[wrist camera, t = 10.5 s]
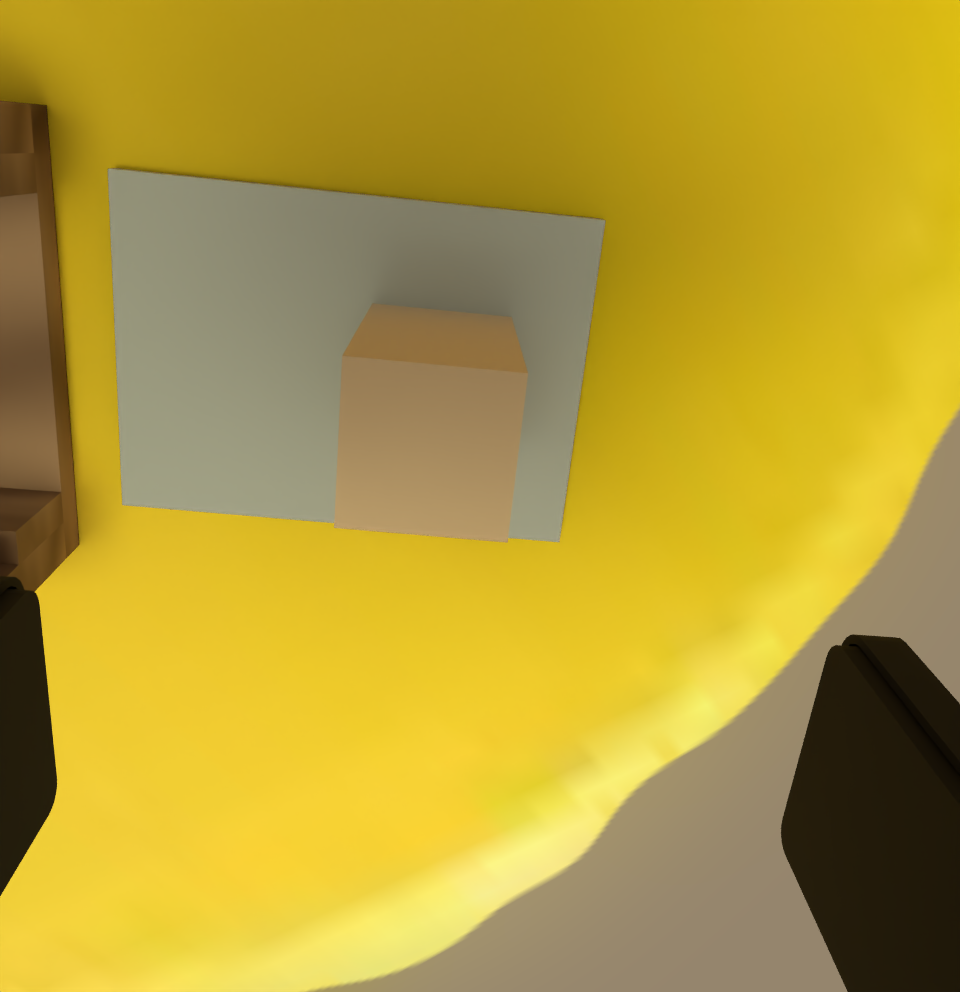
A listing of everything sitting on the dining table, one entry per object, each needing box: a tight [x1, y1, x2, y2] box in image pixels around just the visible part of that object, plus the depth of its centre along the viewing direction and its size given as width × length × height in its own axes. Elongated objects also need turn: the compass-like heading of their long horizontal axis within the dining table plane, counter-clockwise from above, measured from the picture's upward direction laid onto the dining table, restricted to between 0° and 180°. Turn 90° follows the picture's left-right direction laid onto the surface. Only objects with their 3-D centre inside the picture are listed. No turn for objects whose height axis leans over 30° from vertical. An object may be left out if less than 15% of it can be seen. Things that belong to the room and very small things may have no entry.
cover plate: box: [108, 168, 605, 542], centre depth 24 cm, size 10×14×8 cm
